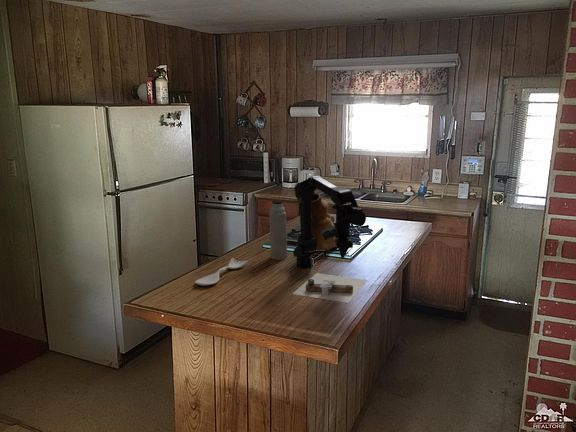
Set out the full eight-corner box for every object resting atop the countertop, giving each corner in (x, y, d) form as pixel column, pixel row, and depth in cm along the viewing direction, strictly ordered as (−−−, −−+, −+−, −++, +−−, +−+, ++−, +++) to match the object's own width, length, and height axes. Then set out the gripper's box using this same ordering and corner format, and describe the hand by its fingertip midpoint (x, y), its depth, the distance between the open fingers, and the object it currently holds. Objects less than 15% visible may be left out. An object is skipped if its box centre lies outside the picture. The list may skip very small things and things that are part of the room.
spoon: (249, 266, 227) (248, 259, 226) (208, 290, 199) (208, 282, 198) (232, 263, 231) (232, 257, 230) (190, 287, 203) (190, 279, 202)
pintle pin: (307, 284, 192) (307, 280, 192) (309, 282, 194) (309, 278, 194) (312, 285, 191) (312, 281, 191) (315, 283, 193) (315, 279, 193)
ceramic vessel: (343, 246, 252) (343, 189, 245) (322, 258, 235) (322, 197, 228) (316, 242, 261) (315, 187, 254) (295, 253, 243) (293, 194, 236)
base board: (292, 295, 191) (292, 293, 191) (316, 274, 213) (316, 273, 212) (348, 304, 181) (348, 302, 181) (367, 282, 203) (367, 280, 203)
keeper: (317, 294, 189) (317, 286, 188) (325, 287, 196) (324, 279, 195) (330, 296, 187) (330, 287, 186) (337, 289, 194) (337, 281, 193)
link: (304, 291, 192) (304, 286, 191) (306, 287, 196) (306, 282, 195) (352, 293, 188) (352, 288, 188) (353, 289, 192) (353, 284, 192)
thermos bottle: (274, 254, 243) (272, 199, 236) (289, 255, 240) (287, 199, 234) (268, 259, 236) (266, 202, 229) (284, 260, 233) (282, 203, 226)
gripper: (321, 215, 203) (321, 250, 207) (324, 227, 185) (323, 266, 189) (348, 215, 203) (347, 250, 207) (353, 227, 185) (352, 265, 189)
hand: (342, 258), depth 198 cm, fingers closed
